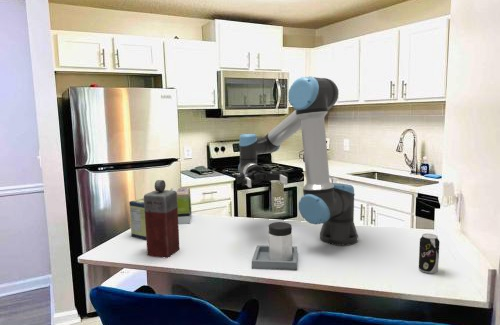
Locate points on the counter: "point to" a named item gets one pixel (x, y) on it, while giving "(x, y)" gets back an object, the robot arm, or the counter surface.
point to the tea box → (183, 205)
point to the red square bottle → (161, 221)
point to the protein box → (137, 218)
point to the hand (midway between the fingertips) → (268, 182)
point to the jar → (280, 241)
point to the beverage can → (429, 253)
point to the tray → (264, 262)
